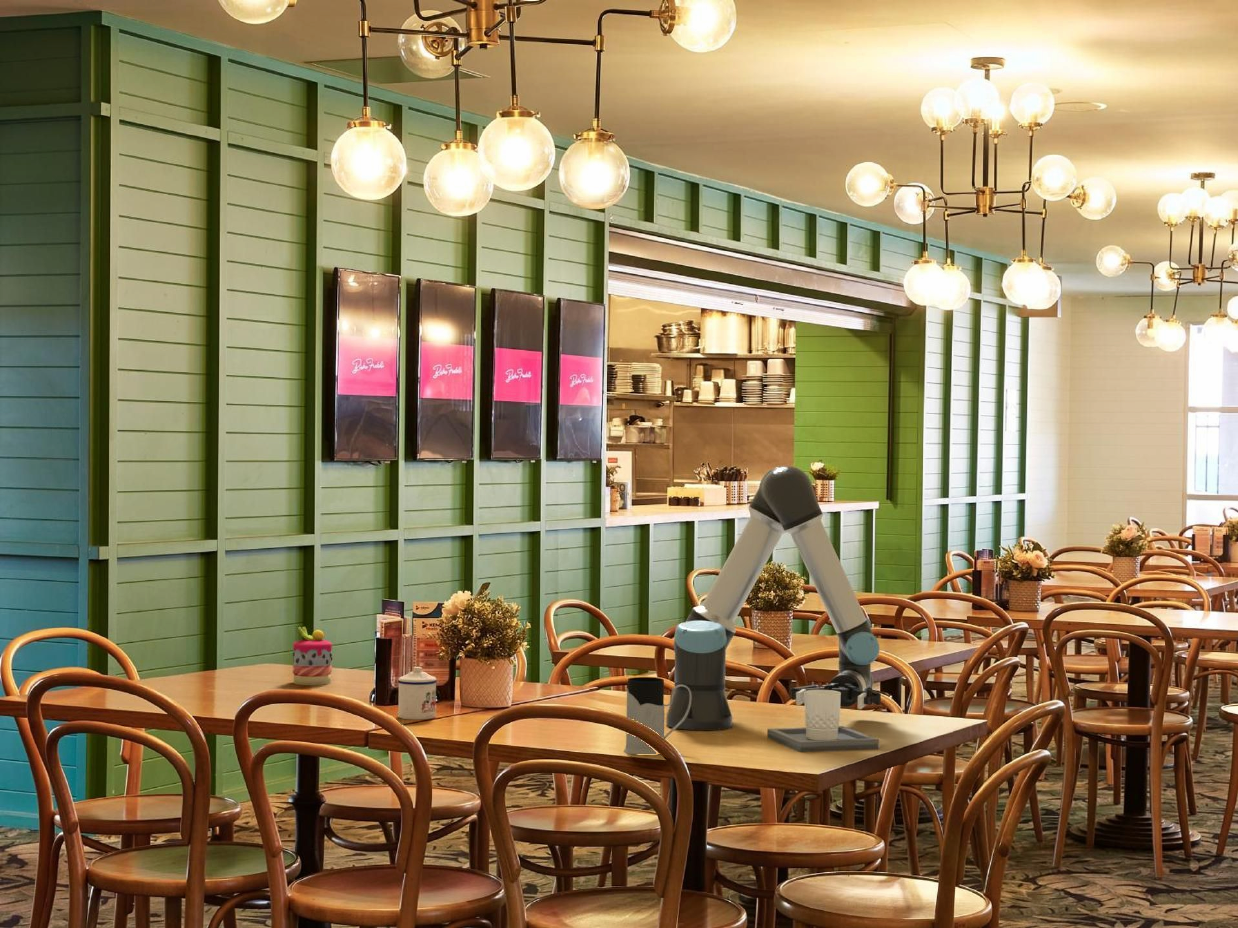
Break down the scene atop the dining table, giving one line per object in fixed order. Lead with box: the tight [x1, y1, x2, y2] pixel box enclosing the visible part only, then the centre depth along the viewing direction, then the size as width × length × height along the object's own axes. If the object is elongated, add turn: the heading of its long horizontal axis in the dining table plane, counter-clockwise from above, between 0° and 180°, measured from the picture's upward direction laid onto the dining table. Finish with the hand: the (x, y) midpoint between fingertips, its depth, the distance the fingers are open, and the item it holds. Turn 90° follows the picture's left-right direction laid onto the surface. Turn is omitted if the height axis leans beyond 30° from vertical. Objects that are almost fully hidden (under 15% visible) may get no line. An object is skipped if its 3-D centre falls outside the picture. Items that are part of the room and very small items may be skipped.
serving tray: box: [766, 725, 880, 753], centre depth 343 cm, size 18×18×2 cm
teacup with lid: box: [397, 666, 438, 721], centre depth 373 cm, size 12×9×12 cm
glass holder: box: [623, 676, 692, 755], centre depth 330 cm, size 9×14×15 cm, turn 103°
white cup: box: [804, 690, 841, 740], centre depth 343 cm, size 8×8×10 cm
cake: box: [292, 626, 333, 686], centre depth 429 cm, size 10×11×15 cm
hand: (828, 700), depth 347 cm, fingers open, 13 cm apart
